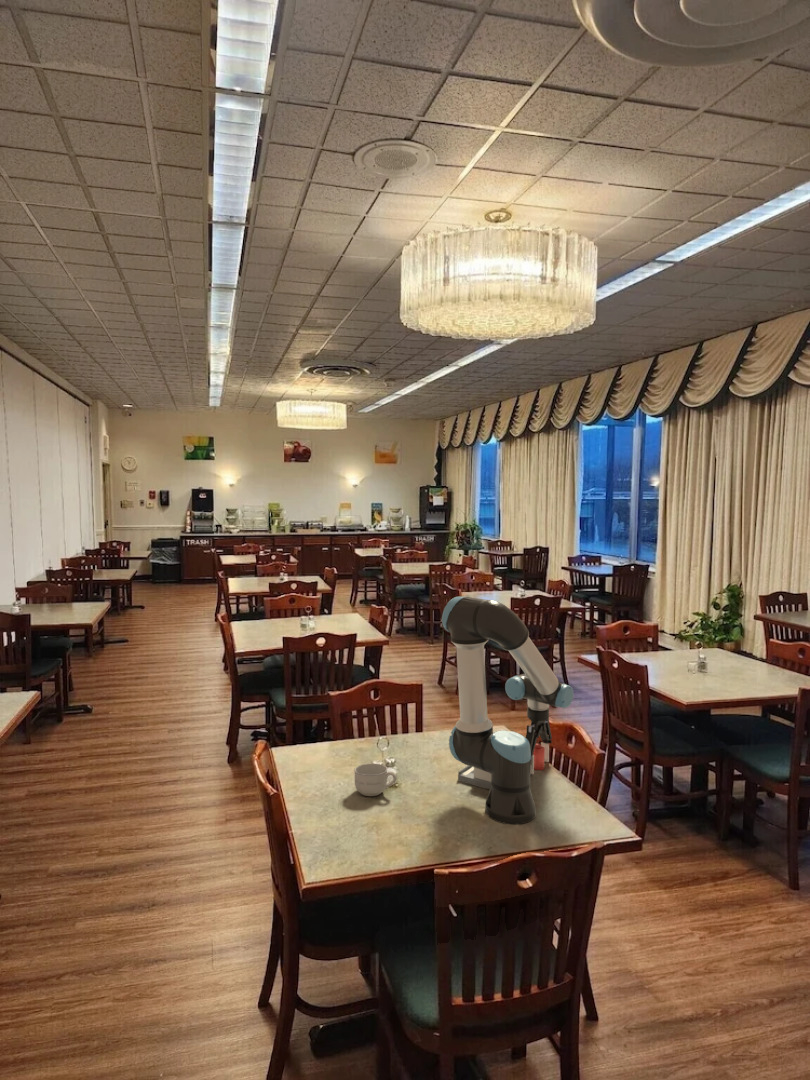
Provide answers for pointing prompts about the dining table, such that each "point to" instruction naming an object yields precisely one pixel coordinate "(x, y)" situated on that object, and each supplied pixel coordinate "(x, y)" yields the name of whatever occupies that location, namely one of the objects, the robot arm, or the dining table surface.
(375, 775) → the teacup
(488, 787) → the panel
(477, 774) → the cream square open box
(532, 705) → the robot arm
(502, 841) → the dining table surface
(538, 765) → the red cylinder with knob
